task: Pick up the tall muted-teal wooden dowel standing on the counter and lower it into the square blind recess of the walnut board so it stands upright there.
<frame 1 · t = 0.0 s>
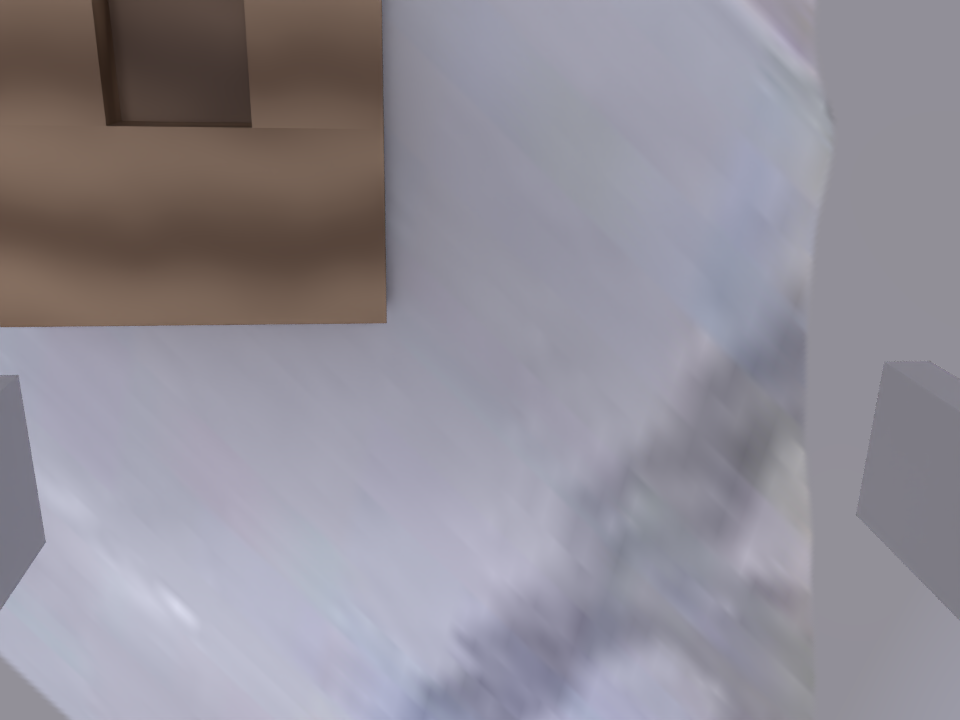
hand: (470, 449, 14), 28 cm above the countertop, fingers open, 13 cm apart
bore block: (188, 50, 37), on the countertop
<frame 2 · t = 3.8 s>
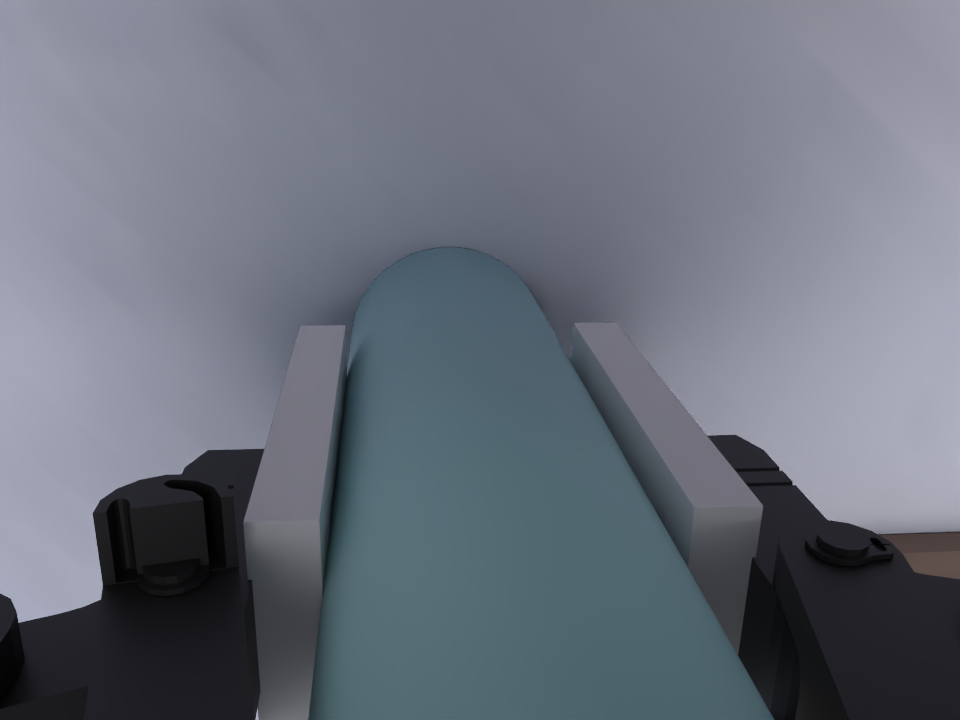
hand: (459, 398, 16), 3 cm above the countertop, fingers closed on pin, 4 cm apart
pin: (448, 341, 19), on the countertop, touching gripper
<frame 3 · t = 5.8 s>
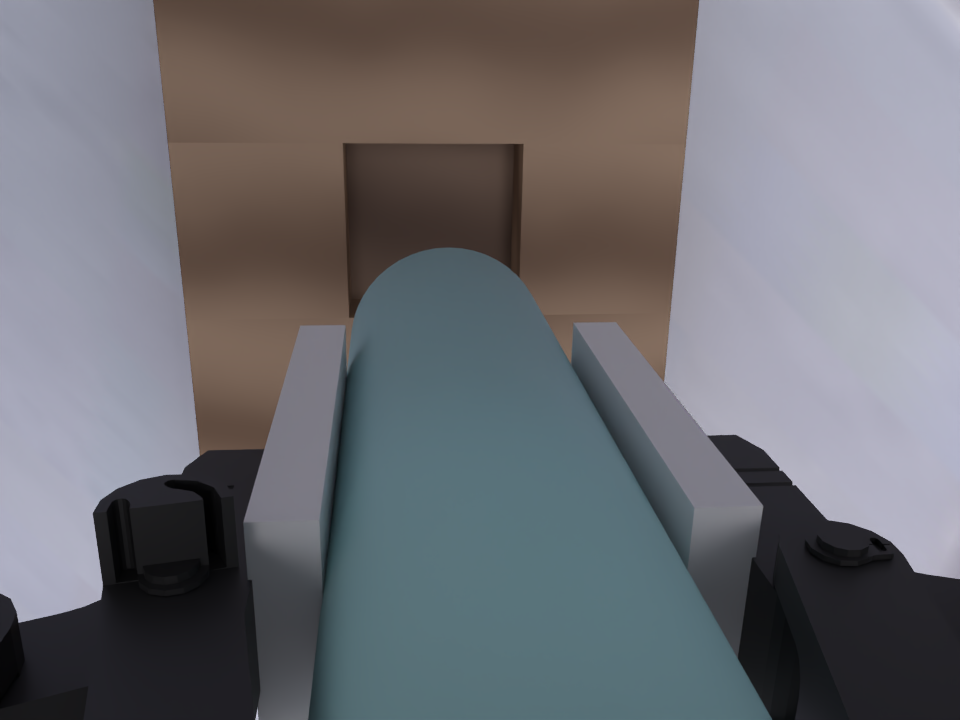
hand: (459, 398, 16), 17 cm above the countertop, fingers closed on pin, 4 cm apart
pin: (447, 341, 19), point 14 cm above the countertop, touching gripper
bore block: (429, 214, 32), on the countertop
when the fingers open (5 cm above the countertop, at t = 8.2 s): pin stays where it is, resting on bore block.
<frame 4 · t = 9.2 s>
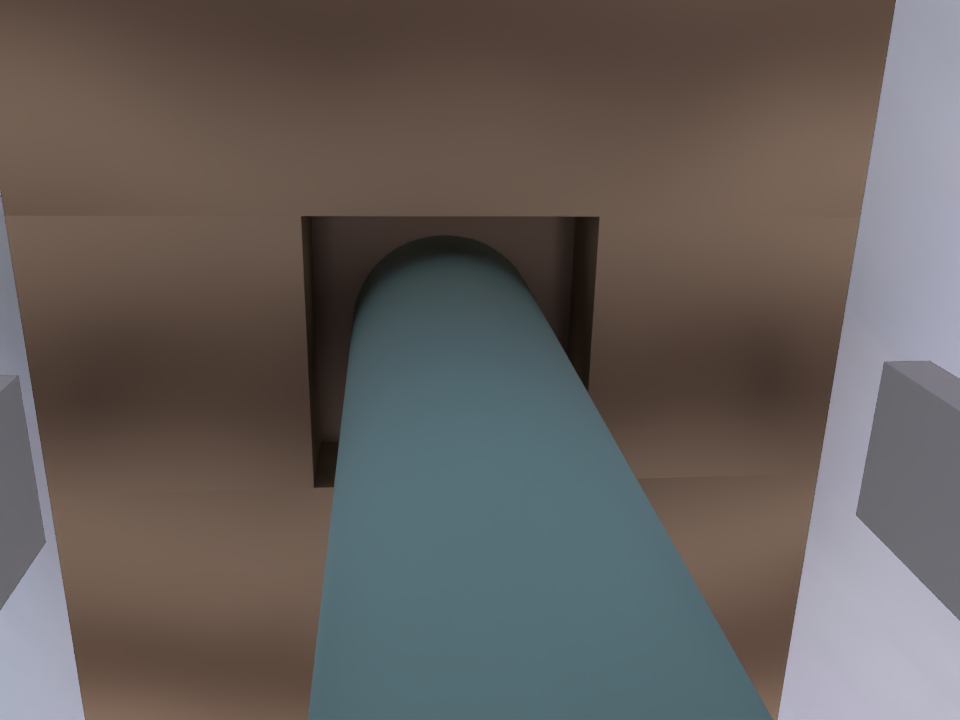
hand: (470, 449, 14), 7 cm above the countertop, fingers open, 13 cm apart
pin: (444, 324, 20), point 1 cm above the countertop, touching bore block
bore block: (442, 313, 21), on the countertop
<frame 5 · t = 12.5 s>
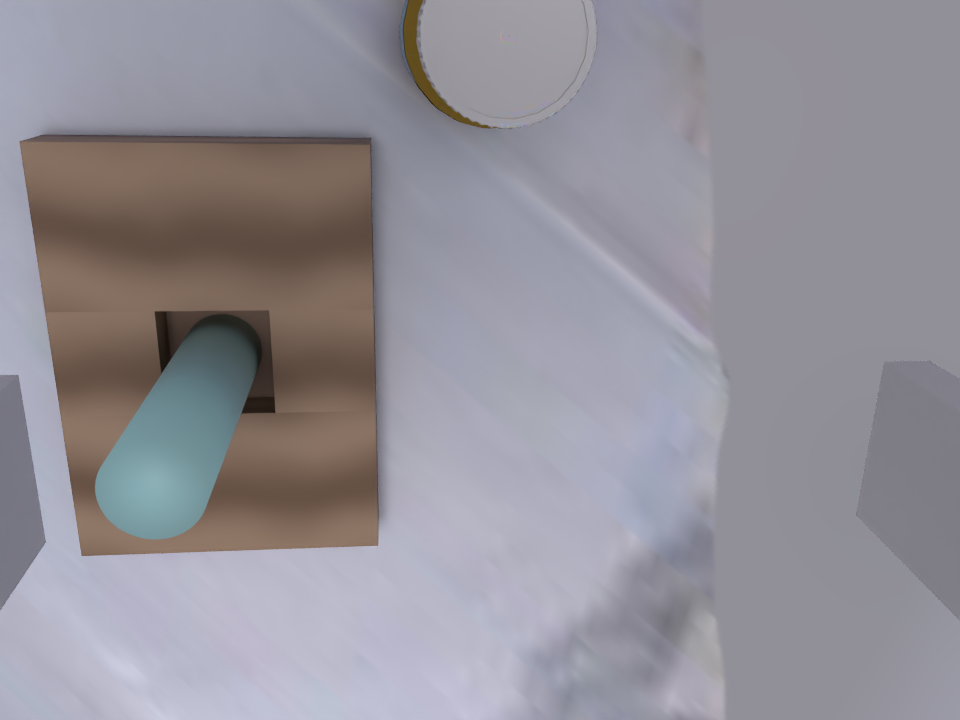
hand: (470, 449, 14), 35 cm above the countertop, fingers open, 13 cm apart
bottle: (469, 35, 45), on the countertop
pin: (223, 349, 48), point 1 cm above the countertop, touching bore block
bore block: (226, 344, 49), on the countertop
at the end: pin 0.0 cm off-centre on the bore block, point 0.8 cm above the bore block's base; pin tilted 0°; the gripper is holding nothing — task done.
